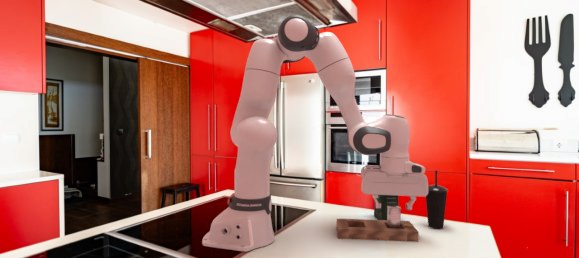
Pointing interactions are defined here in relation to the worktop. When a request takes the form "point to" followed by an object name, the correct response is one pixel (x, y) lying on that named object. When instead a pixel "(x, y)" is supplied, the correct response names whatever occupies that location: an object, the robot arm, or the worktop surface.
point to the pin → (393, 216)
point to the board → (375, 230)
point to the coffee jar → (385, 205)
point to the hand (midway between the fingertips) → (393, 208)
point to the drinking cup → (436, 205)
